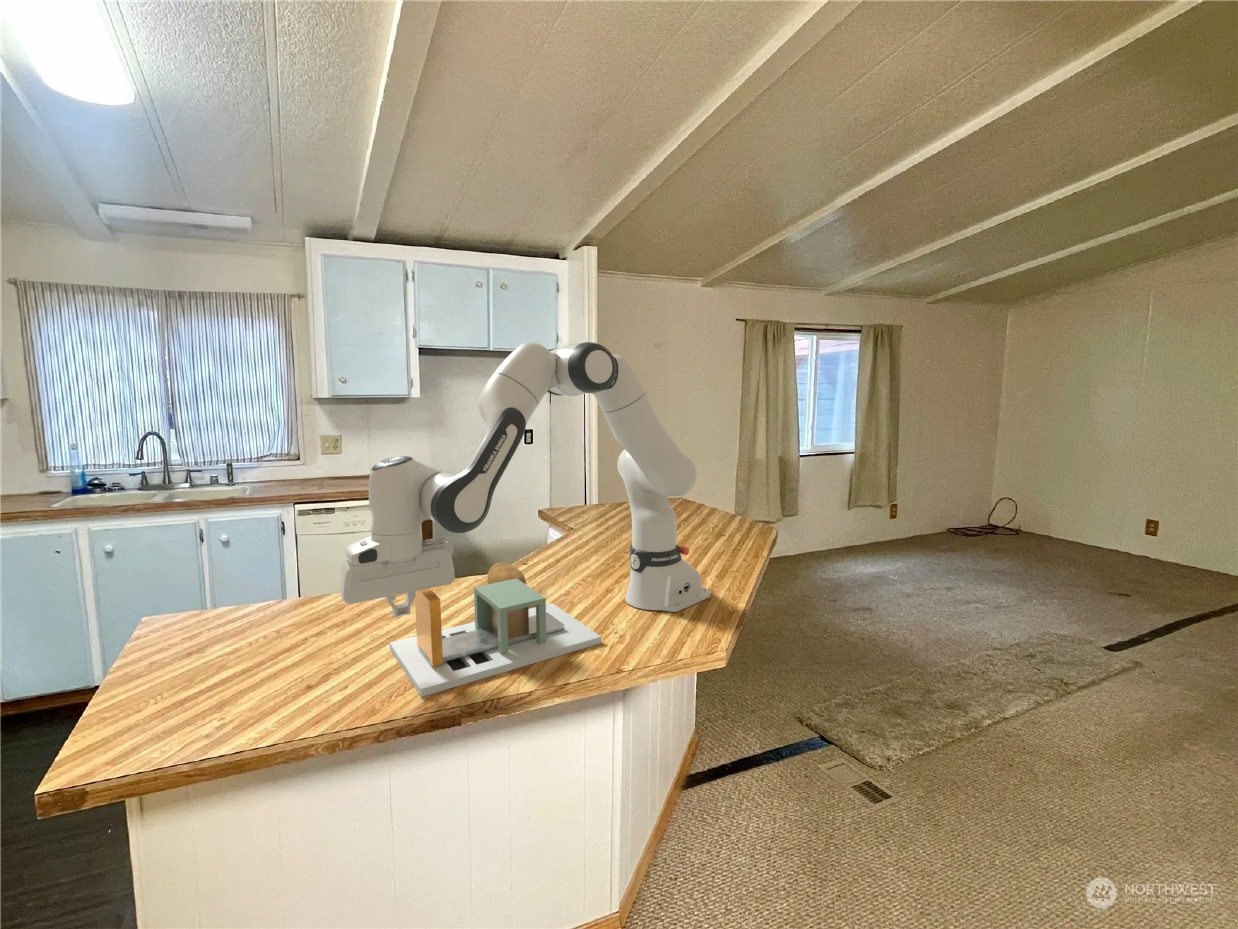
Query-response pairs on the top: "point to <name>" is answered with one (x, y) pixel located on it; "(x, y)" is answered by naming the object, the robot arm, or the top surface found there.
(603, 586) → the top surface
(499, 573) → the potato
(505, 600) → the tunnel
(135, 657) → the top surface
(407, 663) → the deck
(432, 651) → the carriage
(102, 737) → the top surface
